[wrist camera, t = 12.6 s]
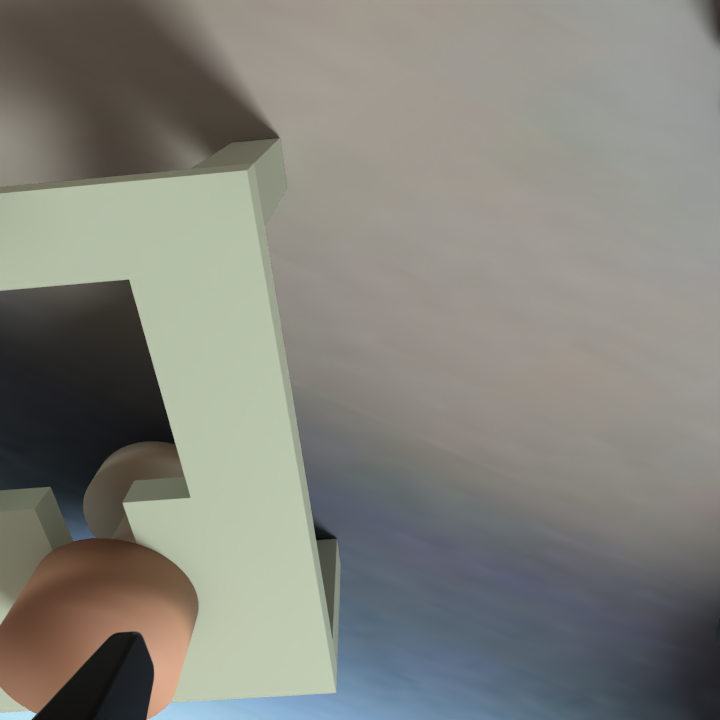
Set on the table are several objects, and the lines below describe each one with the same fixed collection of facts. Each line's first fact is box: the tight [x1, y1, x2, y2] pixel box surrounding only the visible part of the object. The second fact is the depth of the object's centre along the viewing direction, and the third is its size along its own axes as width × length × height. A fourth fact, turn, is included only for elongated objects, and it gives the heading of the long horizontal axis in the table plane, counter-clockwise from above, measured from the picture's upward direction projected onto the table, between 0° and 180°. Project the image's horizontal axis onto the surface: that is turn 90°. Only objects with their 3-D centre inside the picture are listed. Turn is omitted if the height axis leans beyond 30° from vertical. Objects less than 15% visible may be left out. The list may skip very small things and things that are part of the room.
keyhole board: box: [0, 138, 340, 713], centre depth 20 cm, size 13×18×6 cm
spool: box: [0, 441, 199, 720], centre depth 20 cm, size 5×5×8 cm
